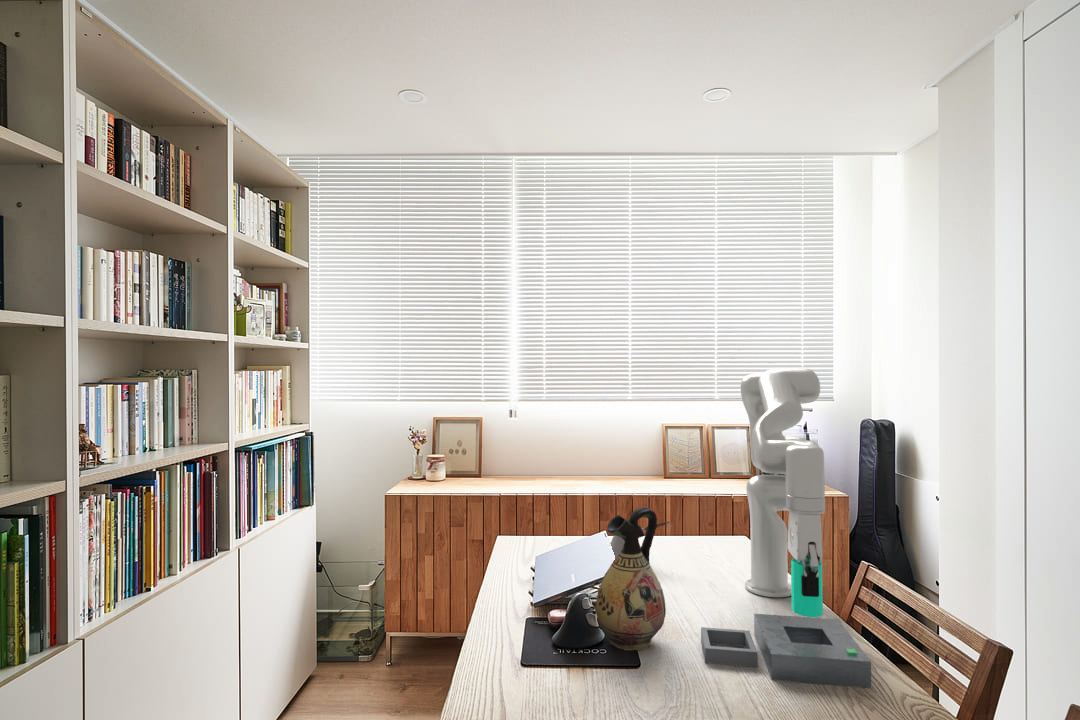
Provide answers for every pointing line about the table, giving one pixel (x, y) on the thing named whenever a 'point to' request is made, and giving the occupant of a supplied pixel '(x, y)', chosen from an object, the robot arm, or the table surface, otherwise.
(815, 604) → the candle
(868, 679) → the port block
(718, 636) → the grey square tray
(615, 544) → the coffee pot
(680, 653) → the table surface
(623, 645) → the ceramic jug
